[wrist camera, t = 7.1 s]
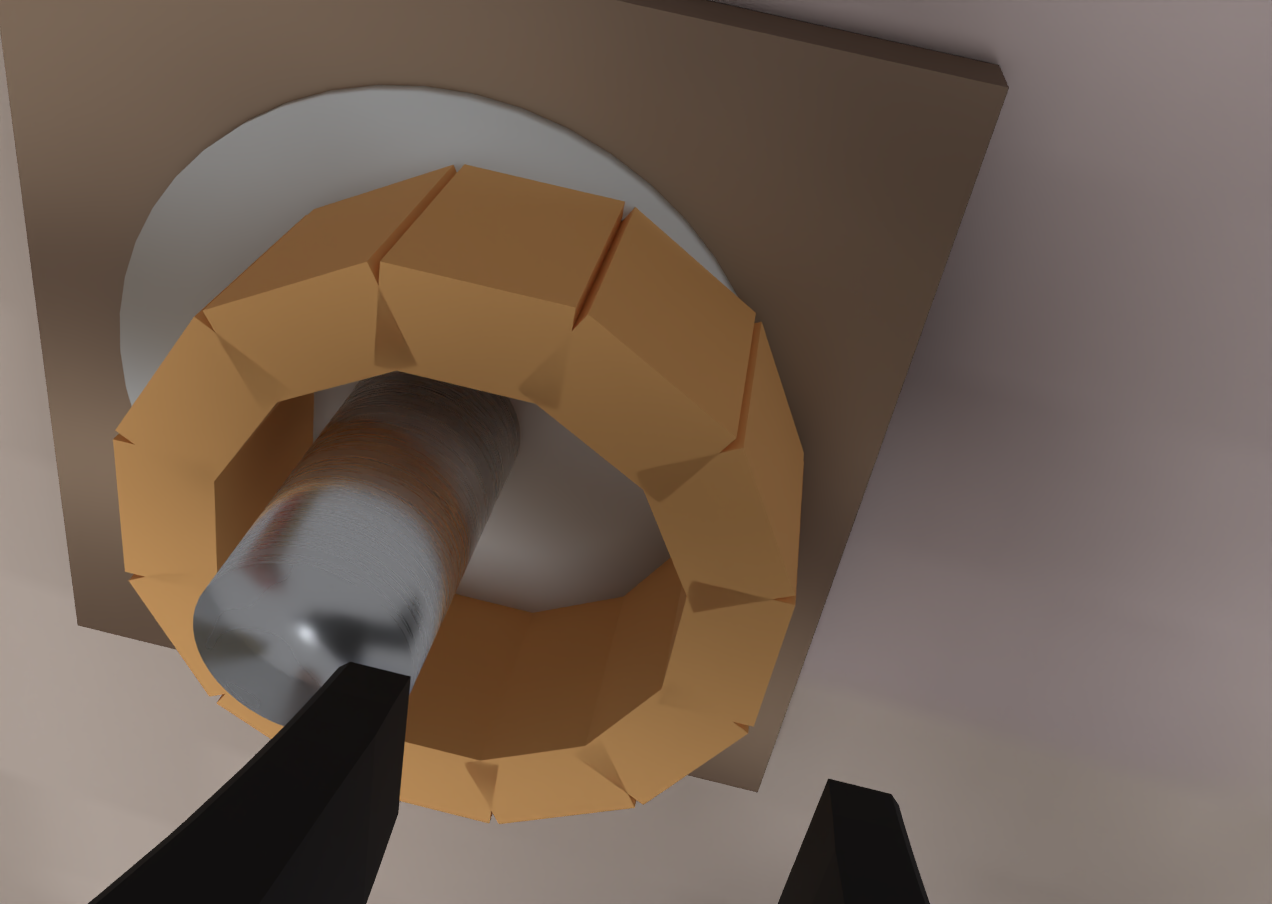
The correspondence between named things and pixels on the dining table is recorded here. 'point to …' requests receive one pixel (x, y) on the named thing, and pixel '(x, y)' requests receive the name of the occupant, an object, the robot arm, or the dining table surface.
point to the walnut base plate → (512, 144)
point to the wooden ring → (565, 389)
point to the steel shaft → (359, 543)
